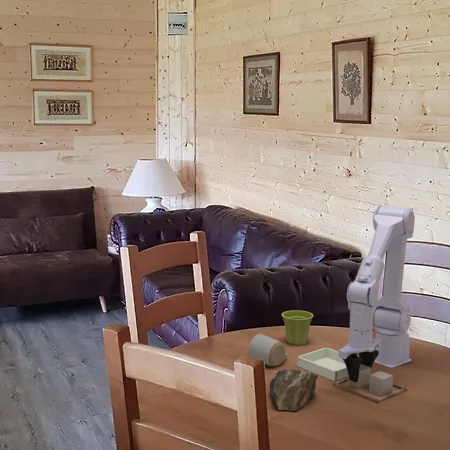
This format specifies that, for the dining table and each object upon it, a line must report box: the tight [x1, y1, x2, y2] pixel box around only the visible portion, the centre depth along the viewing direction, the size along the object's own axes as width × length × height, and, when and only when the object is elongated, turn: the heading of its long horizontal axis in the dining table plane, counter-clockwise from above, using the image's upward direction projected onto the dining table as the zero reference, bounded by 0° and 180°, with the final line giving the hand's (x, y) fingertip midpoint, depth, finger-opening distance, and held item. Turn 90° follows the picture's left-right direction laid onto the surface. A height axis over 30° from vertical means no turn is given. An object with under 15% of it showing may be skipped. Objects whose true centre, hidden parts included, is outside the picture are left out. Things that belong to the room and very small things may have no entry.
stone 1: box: [347, 364, 372, 388], centre depth 181 cm, size 4×4×4 cm
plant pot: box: [281, 310, 314, 346], centre depth 214 cm, size 9×9×9 cm
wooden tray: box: [332, 377, 408, 404], centre depth 179 cm, size 12×14×1 cm
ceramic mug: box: [248, 333, 288, 367], centre depth 197 cm, size 11×8×8 cm
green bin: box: [295, 347, 348, 382], centre depth 192 cm, size 12×14×3 cm
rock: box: [269, 368, 318, 412], centre depth 172 cm, size 14×11×10 cm
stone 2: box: [369, 370, 394, 397], centre depth 176 cm, size 4×4×4 cm
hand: (359, 378), depth 181 cm, fingers closed on stone 1, 4 cm apart
